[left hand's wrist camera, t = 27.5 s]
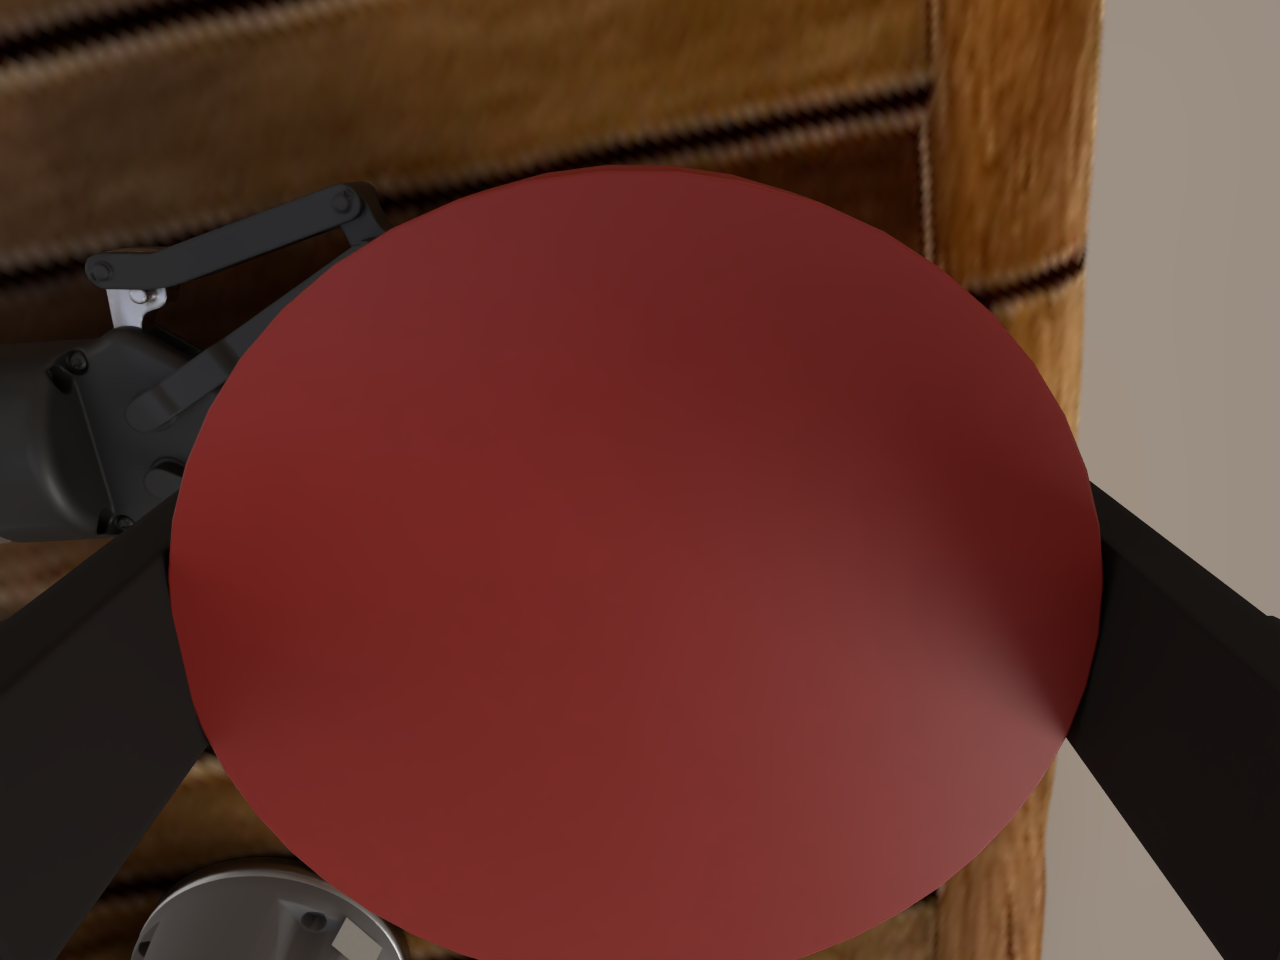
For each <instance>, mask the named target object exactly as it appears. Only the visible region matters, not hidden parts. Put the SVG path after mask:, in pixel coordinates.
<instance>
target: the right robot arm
mask: <svg viewBox="0 0 1280 960" xmlns="http://www.w3.org/2000/svg"><path fill="white" fill-rule="evenodd" d="M379 202H380V199H379V195H378V193H377V191H376V190H375V188H374V187H373V186H371V185H370V184H369V183H365V182H352V183H343V184H336V185H332V186H330V187H327V188H324V189H322V190H319V191H316V192H314V193H311V194H308V195H306V196H303V197H300V198H298V199H295V200H292V201H290V202H287V203H284V204H282V205H279V206H276V207H274V208H271V209H268V210H266V211H263V212H260V213H258V214H255V215H252V216H250V217H247V218H244V219H242V220H239V221H236V222H234V223H231V224H228V225H226V226H223V227H221V228H218V229H215V230H213V231H210V232H207V233H205V234H202V235H199V236H197V237H194V238H191V239H189V240H186V241H183V242H181V243H178V244H175V245H173V246H170V247H156V246H135V247H130V248H124V249H118V250H113V251H108V252H104V253H98V254H93V255H92V256H90V257H89V258H88V259H87V261H86V263H85V272H86V275H87V277H88V279H89V280H90V281H91V282H92V283H93V284H94V285H96V286H97V287H99V288H102V289H106V290H107V295H108V300H109V305H110V310H111V315H112V320H113V325H114V328H113V329H111V330H110V331H108V332H107V333H105V334H104V335H103V336H101V337H100V338H90V339H73V340H56V341H39V342H23V343H6V344H0V544H3V543H9V542H11V541H15V542H43V541H60V540H77V539H95V538H108V537H117V536H118V535H119V534H121V533H122V532H123V531H124V530H126V529H127V528H128V527H130V526H131V525H132V524H134V523H135V522H136V521H138V520H139V519H140V518H142V517H143V516H144V515H145V514H147V513H148V512H149V511H151V510H152V509H153V508H155V507H156V506H157V505H159V504H160V503H161V502H163V501H164V500H165V499H166V498H168V497H169V496H170V495H172V494H173V493H174V492H176V491H177V490H178V489H180V486H181V482H182V478H183V473H184V469H185V465H186V462H187V460H188V457H189V455H190V453H191V450H192V448H193V445H194V443H195V441H196V438H197V436H198V433H199V431H200V429H201V426H202V424H203V421H204V419H205V417H206V414H207V412H208V409H209V408H210V406H211V405H212V403H213V401H214V400H215V398H216V397H217V395H218V393H219V392H220V390H221V388H222V387H223V385H224V384H225V382H226V380H227V379H228V377H229V375H230V374H231V372H232V371H233V369H234V367H235V366H236V364H237V362H238V361H239V359H240V358H241V356H242V355H243V354H244V353H245V352H246V351H247V349H248V348H249V347H250V346H251V345H252V344H253V342H254V341H255V340H256V339H257V338H258V336H259V335H260V334H261V333H262V332H263V331H264V329H265V328H266V327H267V326H268V325H269V324H270V322H271V321H272V320H273V319H274V318H275V317H276V315H277V314H278V313H279V312H280V311H281V310H282V309H283V308H284V307H285V306H286V305H287V304H288V303H290V302H291V301H292V300H293V299H294V298H295V297H296V296H298V295H299V294H300V293H301V292H302V291H303V290H305V289H306V288H307V287H308V286H309V285H310V284H312V283H313V282H314V281H315V280H316V279H317V278H319V277H320V276H321V275H322V274H323V273H324V272H326V271H327V270H328V269H329V268H330V267H331V266H333V265H334V264H336V263H337V262H339V261H340V260H342V259H344V258H345V257H347V256H348V255H350V254H352V253H353V252H355V251H356V250H358V249H360V248H361V247H363V246H364V245H366V244H367V243H369V242H371V241H372V240H374V239H375V238H377V237H379V236H380V235H382V234H383V233H385V232H387V231H388V230H390V229H391V228H394V226H393V225H392V224H390V222H389V221H388V219H387V218H386V216H385V214H384V212H383V210H382V208H381V206H380V204H379ZM338 227H341V229H342V231H343V232H344V234H345V236H346V238H347V240H348V242H349V244H350V245H351V248H350V249H348V250H347V251H345V252H344V253H343V254H341V255H340V256H338V257H337V258H336V259H334V260H333V261H331V262H330V263H329V264H327V265H326V266H324V267H323V268H322V269H320V270H319V271H317V272H316V273H315V274H313V275H312V276H310V277H309V278H308V279H306V280H305V281H303V282H302V283H301V284H299V285H298V286H296V287H295V288H294V289H292V290H291V291H289V292H288V293H286V294H285V295H284V296H282V297H281V298H279V299H278V300H277V301H275V302H274V303H272V304H271V305H270V306H268V307H267V308H265V309H264V310H263V311H261V312H260V313H258V314H257V315H256V316H254V317H253V318H251V319H250V320H249V321H247V322H246V323H244V324H243V325H242V326H240V327H239V328H237V329H236V330H235V331H233V332H232V333H230V334H229V335H228V336H226V337H225V338H223V339H222V340H220V341H219V342H217V343H215V344H214V345H212V346H210V347H209V348H207V349H206V350H203V349H201V348H199V347H198V346H196V345H194V344H192V343H190V342H189V341H187V340H185V339H183V338H181V337H180V336H178V335H176V334H174V333H173V332H171V331H169V330H167V329H165V328H164V327H162V326H160V325H158V324H155V323H154V316H155V313H156V312H157V310H158V309H159V308H161V307H164V306H167V305H170V304H172V303H173V302H175V300H176V299H177V297H178V291H179V284H181V283H184V282H188V281H191V280H195V279H198V278H201V277H205V276H208V275H211V274H214V273H217V272H220V271H222V270H225V269H228V268H230V267H233V266H236V265H239V264H241V263H244V262H247V261H249V260H252V259H255V258H257V257H260V256H263V255H266V254H268V253H271V252H274V251H276V250H279V249H282V248H284V247H287V246H290V245H293V244H295V243H298V242H301V241H303V240H306V239H309V238H311V237H314V236H317V235H320V234H322V233H325V232H328V231H330V230H333V229H336V228H338Z"/></svg>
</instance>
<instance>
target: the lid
mask: <svg viewBox="0 0 1280 960" xmlns="http://www.w3.org/2000/svg"><path fill="white" fill-rule="evenodd" d="M168 585H169V599H170V604H171V609H172V615H173V619H174V624H175V628H176V632H177V637H178V641H179V645H180V649H181V654H182V658H183V662H184V667H185V671H186V675H187V680H188V684H189V688H190V693H191V697H192V701H193V704H194V708H195V712H196V715H197V717H198V720H199V723H200V725H201V728H202V730H203V732H204V734H205V735H206V737H207V739H208V741H209V743H210V745H211V746H212V748H213V750H214V752H215V754H216V756H217V757H218V759H219V761H220V763H221V765H222V766H223V768H224V770H225V772H226V774H227V775H228V776H229V778H230V779H231V781H232V782H233V783H234V785H235V786H236V787H237V789H238V790H239V792H240V793H241V794H242V796H243V797H244V798H245V800H246V801H247V803H248V804H249V805H250V807H251V808H252V809H253V811H254V812H255V813H256V815H257V816H258V817H259V818H260V819H261V820H262V821H263V822H264V823H265V824H266V825H267V827H268V828H269V829H270V830H271V831H272V832H273V833H274V834H275V835H276V836H277V837H278V838H279V839H280V840H281V842H282V843H283V844H284V845H285V846H286V847H287V848H288V849H289V850H290V851H291V852H292V853H293V854H294V855H296V856H297V857H298V858H299V859H300V860H301V861H303V862H304V863H305V864H306V865H307V866H309V867H310V868H311V869H312V870H313V871H314V872H316V873H317V874H318V875H319V876H320V877H322V878H323V879H324V880H325V881H326V882H327V883H329V884H330V885H331V886H333V887H334V888H336V889H337V890H339V891H340V892H342V893H343V894H345V895H346V896H348V897H349V898H351V899H352V900H354V901H355V902H357V903H358V904H360V905H361V906H363V907H364V908H366V909H367V910H369V911H370V912H372V913H374V914H376V915H377V916H379V917H381V918H383V919H385V920H387V921H389V922H391V923H392V924H394V925H396V926H398V927H400V928H402V929H404V930H406V931H408V932H409V933H411V934H413V935H415V936H418V937H420V938H422V939H425V940H427V941H430V942H432V943H435V944H437V945H440V946H442V947H445V948H447V949H450V950H452V951H454V952H457V953H459V954H462V955H465V956H469V957H472V958H475V959H479V960H795V959H798V958H802V957H805V956H808V955H810V954H813V953H815V952H818V951H821V950H823V949H826V948H828V947H831V946H833V945H836V944H838V943H841V942H843V941H846V940H848V939H851V938H853V937H855V936H857V935H859V934H861V933H863V932H865V931H867V930H869V929H871V928H873V927H875V926H877V925H878V924H880V923H882V922H884V921H886V920H888V919H890V918H892V917H894V916H896V915H898V914H899V913H901V912H902V911H904V910H905V909H907V908H908V907H910V906H911V905H913V904H914V903H916V902H917V901H919V900H920V899H922V898H923V897H925V896H927V895H928V894H930V893H931V892H933V891H934V890H936V889H937V888H939V887H940V886H941V885H942V884H944V883H945V882H946V881H947V880H948V879H950V878H951V877H952V876H953V875H954V874H956V873H957V872H958V871H959V870H960V869H962V868H963V867H964V866H965V865H966V864H968V863H969V862H970V861H971V860H972V859H974V858H975V857H976V856H977V855H978V854H979V853H980V852H981V851H982V850H983V849H984V848H985V847H986V846H987V845H988V844H989V843H990V842H991V841H992V840H993V839H994V838H995V837H996V836H997V834H998V833H999V832H1000V831H1001V830H1002V829H1003V828H1004V827H1005V826H1006V825H1007V824H1008V823H1009V822H1010V821H1011V820H1012V819H1013V817H1014V816H1015V815H1016V813H1017V812H1018V811H1019V809H1020V808H1021V807H1022V805H1023V804H1024V803H1025V801H1026V800H1027V799H1028V797H1029V796H1030V795H1031V793H1032V792H1033V791H1034V789H1035V788H1036V787H1037V785H1038V784H1039V783H1040V781H1041V780H1042V779H1043V777H1044V775H1045V773H1046V771H1047V770H1048V768H1049V766H1050V764H1051V763H1052V761H1053V759H1054V757H1055V755H1056V754H1057V752H1058V750H1059V748H1060V746H1061V745H1062V743H1063V741H1064V739H1065V738H1066V736H1067V734H1068V732H1069V729H1070V727H1071V724H1072V722H1073V719H1074V717H1075V714H1076V711H1077V709H1078V706H1079V704H1080V701H1081V699H1082V696H1083V694H1084V691H1085V689H1086V686H1087V682H1088V678H1089V674H1090V670H1091V665H1092V661H1093V657H1094V653H1095V649H1096V644H1097V640H1098V636H1099V627H1100V615H1101V603H1102V592H1103V569H1102V554H1101V539H1100V526H1099V521H1098V517H1097V512H1096V508H1095V504H1094V499H1093V495H1092V490H1091V486H1090V482H1089V477H1088V473H1087V469H1086V467H1085V464H1084V462H1083V459H1082V457H1081V454H1080V452H1079V449H1078V447H1077V444H1076V442H1075V439H1074V437H1073V434H1072V432H1071V429H1070V427H1069V424H1068V422H1067V419H1066V417H1065V415H1064V413H1063V411H1062V410H1061V408H1060V406H1059V405H1058V403H1057V401H1056V400H1055V398H1054V396H1053V395H1052V393H1051V391H1050V390H1049V388H1048V386H1047V385H1046V383H1045V381H1044V380H1043V378H1042V376H1041V375H1040V373H1039V371H1038V370H1037V368H1036V366H1035V365H1034V363H1033V362H1032V360H1031V359H1030V358H1029V357H1028V356H1027V354H1026V353H1025V352H1024V351H1023V350H1022V348H1021V347H1020V346H1019V345H1018V344H1017V342H1016V341H1015V340H1014V339H1013V338H1012V336H1011V335H1010V334H1009V333H1008V332H1007V330H1006V329H1005V328H1004V327H1003V326H1002V324H1001V323H1000V322H999V321H998V320H997V318H996V317H995V316H994V315H993V314H992V313H991V312H990V311H989V310H988V309H987V308H986V307H984V306H983V305H982V304H981V303H980V302H979V301H978V300H977V299H975V298H974V297H973V296H972V295H971V294H970V293H969V292H967V291H966V290H965V289H964V288H963V287H962V286H961V285H960V284H958V283H957V282H956V281H955V280H954V279H953V278H952V277H950V276H949V275H948V274H947V273H946V272H945V271H944V270H943V269H941V268H939V267H938V266H936V265H935V264H933V263H932V262H930V261H929V260H927V259H926V258H924V257H922V256H921V255H919V254H918V253H916V252H915V251H913V250H912V249H910V248H909V247H907V246H906V245H904V244H902V243H901V242H899V241H898V240H896V239H895V238H893V237H892V236H890V235H889V234H887V233H885V232H884V231H881V230H879V229H877V228H875V227H873V226H871V225H868V224H866V223H864V222H862V221H860V220H857V219H855V218H853V217H851V216H849V215H847V214H844V213H842V212H840V211H838V210H836V209H833V208H831V207H829V206H827V205H825V204H823V203H820V202H818V201H815V200H812V199H809V198H806V197H804V196H801V195H798V194H795V193H792V192H789V191H786V190H783V189H779V188H776V187H772V186H769V185H766V184H762V183H759V182H755V181H752V180H749V179H745V178H742V177H738V176H735V175H732V174H725V173H718V172H711V171H705V170H698V169H691V168H684V167H678V166H671V165H603V166H596V167H588V168H581V169H573V170H566V171H558V172H551V173H545V174H541V175H537V176H534V177H530V178H527V179H523V180H520V181H516V182H512V183H509V184H505V185H502V186H498V187H494V188H491V189H487V190H484V191H481V192H478V193H475V194H472V195H469V196H466V197H463V198H460V199H457V200H455V201H453V202H450V203H448V204H446V205H443V206H441V207H439V208H437V209H434V210H432V211H430V212H428V213H425V214H423V215H421V216H419V217H416V218H414V219H412V220H409V221H407V222H405V223H403V224H400V225H398V226H396V227H394V228H391V229H390V230H388V231H387V232H385V233H383V234H382V235H380V236H379V237H377V238H375V239H374V240H372V241H371V242H369V243H367V244H366V245H364V246H363V247H361V248H360V249H358V250H356V251H355V252H353V253H352V254H350V255H348V256H347V257H345V258H344V259H342V260H340V261H339V262H337V263H336V264H334V265H333V266H331V267H330V268H329V269H328V270H327V271H326V272H324V273H323V274H322V275H321V276H320V277H319V278H317V279H316V280H315V281H314V282H313V283H312V284H310V285H309V286H308V287H307V288H306V289H305V290H303V291H302V292H301V293H300V294H299V295H298V296H296V297H295V298H294V299H293V300H292V301H291V302H290V303H288V304H287V305H286V306H285V307H284V308H283V309H282V310H281V311H280V312H279V313H278V314H277V315H276V317H275V318H274V319H273V320H272V321H271V322H270V324H269V325H268V326H267V327H266V328H265V329H264V331H263V332H262V333H261V334H260V335H259V336H258V338H257V339H256V340H255V341H254V342H253V344H252V345H251V346H250V347H249V348H248V349H247V351H246V352H245V353H244V354H243V355H242V356H241V358H240V359H239V361H238V362H237V364H236V366H235V367H234V369H233V371H232V372H231V374H230V375H229V377H228V379H227V380H226V382H225V384H224V385H223V387H222V388H221V390H220V392H219V393H218V395H217V397H216V398H215V400H214V401H213V403H212V405H211V406H210V408H209V409H208V412H207V414H206V417H205V419H204V421H203V424H202V426H201V429H200V431H199V433H198V436H197V438H196V441H195V443H194V445H193V448H192V450H191V453H190V455H189V457H188V460H187V462H186V465H185V469H184V473H183V478H182V482H181V486H180V490H179V494H178V498H177V502H176V507H175V511H174V515H173V519H172V529H171V542H170V554H169V567H168Z"/></svg>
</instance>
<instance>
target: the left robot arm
mask: <svg viewBox="0 0 1280 960" xmlns="http://www.w3.org/2000/svg"><path fill="white" fill-rule="evenodd" d="M1089 482H1090V486H1091V490H1092V495H1093V499H1094V504H1095V508H1096V512H1097V517H1098V521H1099V526H1100V539H1101V554H1102V569H1103V592H1102V603H1101V615H1100V627H1099V636H1098V640H1097V644H1096V649H1095V653H1094V657H1093V661H1092V665H1091V670H1090V674H1089V678H1088V682H1087V686H1086V689H1085V691H1084V694H1083V696H1082V699H1081V701H1080V704H1079V706H1078V709H1077V711H1076V714H1075V717H1074V719H1073V722H1072V724H1071V727H1070V729H1069V732H1068V734H1067V736H1066V738H1067V739H1068V741H1069V742H1070V744H1071V745H1072V746H1073V748H1074V749H1075V751H1076V752H1077V753H1078V755H1079V756H1080V758H1081V759H1082V760H1083V762H1084V763H1085V765H1086V766H1087V767H1088V769H1089V770H1090V772H1091V773H1092V774H1093V776H1094V777H1095V779H1096V780H1097V782H1098V783H1099V784H1100V786H1101V787H1102V789H1103V790H1104V791H1105V793H1106V794H1107V796H1108V797H1109V798H1110V800H1111V801H1112V803H1113V804H1114V805H1115V807H1116V808H1117V810H1118V811H1119V813H1120V814H1121V815H1122V817H1123V818H1124V819H1125V821H1126V822H1127V824H1128V825H1129V827H1130V828H1131V829H1132V831H1133V832H1134V834H1135V835H1136V836H1137V838H1138V839H1139V841H1140V842H1141V843H1142V845H1143V846H1144V848H1145V849H1146V850H1147V852H1148V853H1149V855H1150V856H1151V858H1152V859H1153V860H1154V862H1155V863H1156V864H1157V866H1158V867H1159V869H1160V870H1161V872H1162V873H1163V874H1164V876H1165V877H1166V879H1167V880H1168V881H1169V883H1170V884H1171V886H1172V887H1173V888H1174V890H1175V891H1176V893H1177V894H1178V895H1179V897H1180V898H1181V900H1182V901H1183V903H1184V904H1185V905H1186V907H1187V908H1188V910H1189V911H1190V912H1191V914H1192V915H1193V916H1194V918H1195V919H1196V921H1197V922H1198V924H1199V925H1200V926H1201V928H1202V929H1203V931H1204V932H1205V933H1206V935H1207V936H1208V938H1209V939H1210V941H1211V942H1212V943H1213V945H1214V946H1215V948H1216V949H1217V950H1218V952H1219V953H1220V955H1221V956H1222V957H1223V959H1224V960H1280V619H1278V618H1276V617H1274V616H1266V615H1265V614H1264V613H1263V612H1261V611H1260V610H1258V609H1257V608H1256V607H1255V606H1253V605H1252V604H1251V603H1249V602H1248V601H1247V600H1245V599H1244V598H1243V597H1242V596H1240V595H1239V594H1238V593H1236V592H1235V591H1234V590H1232V589H1231V588H1230V587H1228V586H1227V585H1226V584H1224V583H1223V582H1222V581H1220V580H1219V579H1218V578H1217V577H1215V576H1214V575H1213V574H1211V573H1210V572H1209V571H1207V570H1206V569H1205V568H1203V567H1202V566H1201V565H1199V564H1198V563H1197V562H1196V561H1194V560H1193V559H1192V558H1190V557H1189V556H1188V555H1186V554H1185V553H1184V552H1182V551H1181V550H1180V549H1179V548H1177V547H1176V546H1175V545H1173V544H1172V543H1171V542H1169V541H1168V540H1167V539H1165V538H1164V537H1163V536H1161V535H1160V534H1159V533H1157V532H1156V531H1155V530H1154V529H1152V528H1151V527H1150V526H1148V525H1147V524H1146V523H1144V522H1143V521H1142V520H1140V519H1139V518H1138V517H1137V516H1135V515H1134V514H1133V513H1131V512H1130V511H1129V510H1127V509H1126V508H1125V507H1123V506H1122V505H1121V504H1119V503H1118V502H1117V501H1116V500H1114V499H1113V498H1112V497H1110V496H1109V495H1108V494H1106V493H1105V492H1104V491H1102V490H1101V489H1100V488H1098V487H1097V486H1096V485H1095V484H1093V483H1092V482H1091V481H1089ZM179 490H180V489H178V490H177V491H176V492H174V493H173V494H172V495H170V496H169V497H168V498H166V499H165V500H164V501H163V502H161V503H160V504H159V505H157V506H156V507H155V508H153V509H152V510H151V511H149V512H148V513H147V514H145V515H144V516H143V517H142V518H140V519H139V520H138V521H136V522H135V523H134V524H132V525H131V526H130V527H128V528H127V529H126V530H124V531H123V532H122V533H121V534H119V535H118V536H117V537H115V538H114V539H113V540H111V541H110V542H109V543H107V544H106V545H105V546H103V547H102V548H101V549H100V550H98V551H97V552H96V553H94V554H93V555H92V556H90V557H89V558H88V559H86V560H85V561H84V562H82V563H81V564H80V565H79V566H77V567H76V568H75V569H73V570H72V571H71V572H69V573H68V574H67V575H65V576H64V577H63V578H61V579H60V580H59V581H58V582H56V583H55V584H54V585H52V586H51V587H50V588H48V589H47V590H46V591H44V592H43V593H42V594H40V595H39V596H38V597H37V598H35V599H34V600H33V601H31V602H30V603H29V604H27V605H26V606H25V607H23V608H22V609H21V610H19V611H18V612H17V613H16V614H14V615H13V616H12V617H10V618H9V619H6V620H4V621H2V622H0V960H55V959H56V958H57V957H58V955H59V954H60V952H61V951H62V950H63V948H64V947H65V945H66V944H67V942H68V941H69V940H70V938H71V937H72V935H73V934H74V933H75V931H76V930H77V928H78V927H79V926H80V924H81V923H82V921H83V920H84V919H85V917H86V916H87V914H88V913H89V912H90V910H91V909H92V907H93V906H94V905H95V903H96V902H97V900H98V899H99V897H100V896H101V895H102V893H103V892H104V890H105V889H106V888H107V886H108V885H109V883H110V882H111V881H112V879H113V878H114V876H115V875H116V874H117V872H118V871H119V869H120V868H121V867H122V865H123V864H124V862H125V861H126V860H127V858H128V857H129V855H130V854H131V852H132V851H133V850H134V848H135V847H136V845H137V844H138V843H139V841H140V840H141V838H142V837H143V836H144V834H145V833H146V831H147V830H148V829H149V827H150V826H151V824H152V823H153V822H154V820H155V819H156V817H157V816H158V814H159V813H160V812H161V810H162V809H163V807H164V806H165V805H166V803H167V802H168V800H169V799H170V798H171V796H172V795H173V793H174V792H175V791H176V789H177V788H178V786H179V785H180V784H181V782H182V781H183V779H184V778H185V777H186V775H187V774H188V772H189V771H190V769H191V768H192V767H193V765H194V764H195V762H196V761H197V760H198V758H199V757H200V755H201V754H202V753H203V751H204V750H205V748H206V747H207V746H208V744H209V741H208V739H207V737H206V735H205V734H204V732H203V730H202V728H201V725H200V723H199V720H198V717H197V715H196V712H195V708H194V704H193V701H192V697H191V693H190V688H189V684H188V680H187V675H186V671H185V667H184V662H183V658H182V654H181V649H180V645H179V641H178V637H177V632H176V628H175V624H174V619H173V615H172V609H171V604H170V599H169V585H168V567H169V554H170V542H171V529H172V519H173V515H174V511H175V507H176V502H177V498H178V494H179ZM131 960H410V952H409V948H408V944H407V941H406V938H405V935H404V933H403V931H402V929H401V928H400V927H398V926H396V925H394V924H392V923H391V922H389V921H387V920H385V919H383V918H381V917H379V916H377V915H376V914H374V913H372V912H370V911H369V910H367V909H366V908H364V907H363V906H361V905H360V904H358V903H357V902H355V901H354V900H352V899H351V898H349V897H348V896H346V895H345V894H343V893H342V892H340V891H339V890H337V889H336V888H334V887H333V886H331V885H330V884H329V883H327V882H326V881H325V880H324V879H323V878H322V877H320V876H319V875H318V874H317V873H316V872H314V871H313V870H312V869H311V868H310V867H309V866H307V865H306V864H305V863H304V862H302V861H298V860H292V859H286V858H275V857H249V858H239V859H232V860H227V861H223V862H219V863H216V864H213V865H209V866H206V867H204V868H202V869H200V870H197V871H195V872H193V873H191V874H190V875H188V876H186V877H185V878H183V879H182V880H180V881H179V882H177V883H176V884H175V885H174V886H173V887H172V888H170V889H169V890H168V891H167V893H166V894H165V895H164V896H163V897H162V898H161V900H160V901H159V903H158V904H157V906H156V907H155V909H154V910H153V912H152V914H151V915H150V917H149V918H148V920H147V922H146V923H145V925H144V927H143V929H142V931H141V933H140V936H139V938H138V941H137V943H136V945H135V947H134V950H133V953H132V957H131Z"/></svg>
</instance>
